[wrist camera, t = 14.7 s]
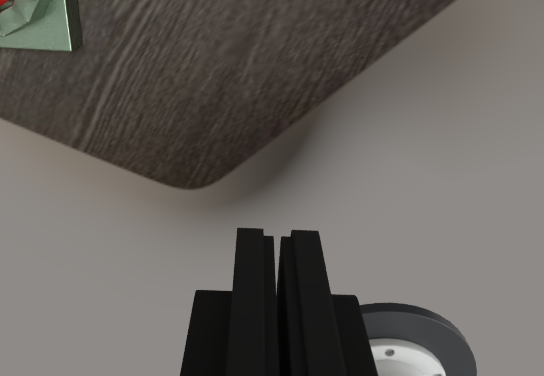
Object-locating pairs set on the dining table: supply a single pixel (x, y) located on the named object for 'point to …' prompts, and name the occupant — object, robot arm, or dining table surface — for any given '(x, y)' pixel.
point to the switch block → (40, 25)
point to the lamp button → (3, 2)
